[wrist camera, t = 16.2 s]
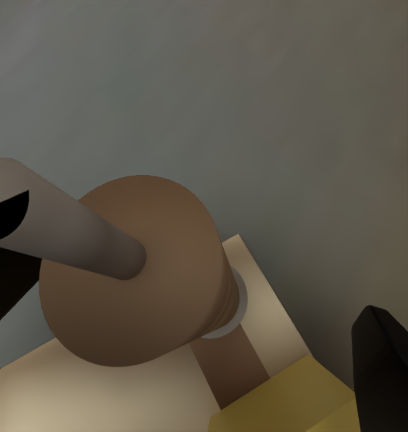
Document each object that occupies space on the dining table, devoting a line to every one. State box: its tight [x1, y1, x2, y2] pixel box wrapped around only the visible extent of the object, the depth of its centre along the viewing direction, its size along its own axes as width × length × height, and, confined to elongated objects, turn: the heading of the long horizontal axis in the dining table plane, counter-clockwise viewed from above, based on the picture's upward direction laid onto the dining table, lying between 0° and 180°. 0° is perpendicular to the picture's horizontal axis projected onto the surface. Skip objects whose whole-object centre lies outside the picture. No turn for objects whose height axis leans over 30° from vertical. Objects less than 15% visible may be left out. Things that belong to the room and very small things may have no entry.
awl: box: [0, 158, 248, 367], centre depth 8 cm, size 4×4×14 cm
